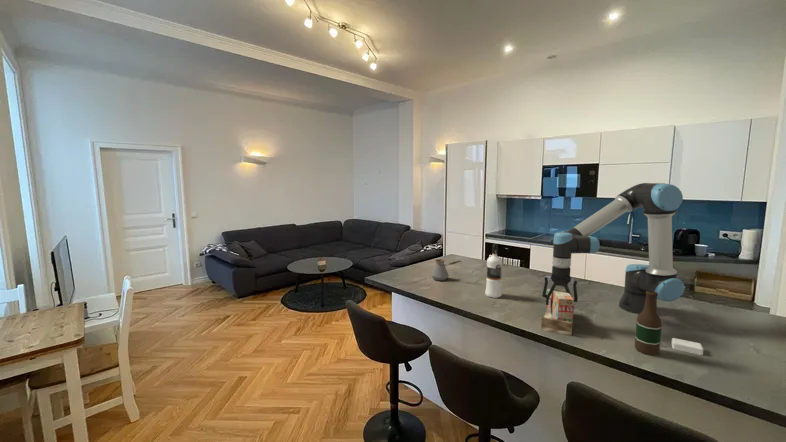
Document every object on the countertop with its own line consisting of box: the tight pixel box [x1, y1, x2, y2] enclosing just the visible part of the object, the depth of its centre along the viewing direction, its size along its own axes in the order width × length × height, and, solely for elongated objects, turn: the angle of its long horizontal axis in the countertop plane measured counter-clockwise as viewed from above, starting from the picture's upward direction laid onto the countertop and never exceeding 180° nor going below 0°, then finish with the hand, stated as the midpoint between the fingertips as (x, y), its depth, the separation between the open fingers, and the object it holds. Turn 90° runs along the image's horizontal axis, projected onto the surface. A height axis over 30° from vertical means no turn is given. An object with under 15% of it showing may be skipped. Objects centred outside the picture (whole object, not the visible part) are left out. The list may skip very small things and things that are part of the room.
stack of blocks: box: [546, 288, 575, 322], centre depth 158 cm, size 21×6×12 cm, turn 168°
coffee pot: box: [430, 258, 463, 282], centre depth 222 cm, size 21×12×15 cm, turn 52°
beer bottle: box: [634, 291, 663, 356], centre depth 130 cm, size 8×8×24 cm
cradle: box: [540, 307, 575, 337], centre depth 158 cm, size 12×26×6 cm, turn 150°
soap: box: [671, 337, 704, 356], centre depth 132 cm, size 9×6×3 cm, turn 56°
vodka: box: [484, 243, 503, 299], centre depth 192 cm, size 9×9×30 cm
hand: (558, 313), depth 158 cm, fingers closed on stack of blocks, 7 cm apart
